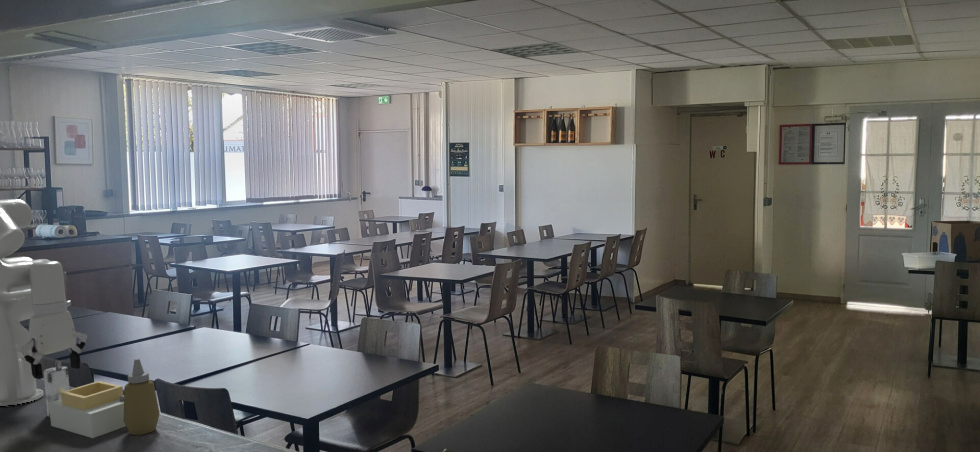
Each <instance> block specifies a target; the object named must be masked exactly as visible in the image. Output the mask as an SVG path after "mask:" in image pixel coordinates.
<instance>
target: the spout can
mask: <svg viewBox="0 0 980 452" xmlns="http://www.w3.org/2000/svg"><path fill="white" fill-rule="evenodd" d="M54 365H55V367H50V368H46V369H45V370H42V374H43V383H44V392H45V393H44V394H45V402H46V414H47V418H50V408H49V403H50V402H53V401H56V400H60V399H61V392H64V391H67V390H70V381H69V379H70V378H69V370H68V366H62V360H56V361H54Z"/></svg>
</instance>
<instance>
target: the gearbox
mask: <svg viewBox="0 0 980 452" xmlns="http://www.w3.org/2000/svg"><path fill="white" fill-rule="evenodd" d="M123 388H124V387H123V385H118V384H113V383H111V382H106V381H101V380H99V381H95V382H90V383H87V384H84V385H81V386H77V387H74V388H71V389H70V388H69V389H70V390H67V391H64V392H61V399H60V400H56V401H53V402H50V403H49V408H50V417H49V418H50V426H51V427H54V428H58V429H61V430H65V431H67V432H70V433H74V434H77V435H81V436H84V437H88V438H91V439H94V438H97V437H99V436H103V435H106V434H108V433H111V432H115V431H116V430H119V429H122V428H126V425H125V423H124V389H123Z"/></svg>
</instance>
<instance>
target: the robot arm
mask: <svg viewBox="0 0 980 452" xmlns="http://www.w3.org/2000/svg"><path fill="white" fill-rule="evenodd" d="M32 221H33V211H32V209H31V207H30V205H29V204H28V203H27V202H26V201H25V200H23V199H19V198H8V199H0V406H6V405H15V406H18V405H17V404H20V405H23V404H22V403H25V404H27V403H26V402H29V403H31V401H32V402H34V400H35V401H37V400H39V399H41V398H42V397H43V396H44V390H43V389H41V388H37V380H42V379H44V373H43V367H42V363H40V361H41V360H42V358H43V356H46V355H49V354H53V353H54V354H55V353H58V352H61V351H66V350H67V351H68V350H69V352H70V353H69V362H70V368H72V369H76V370H78V369H81V355H80V354H81V353H82V350H83V348H84V347H86V346H85V345H86V342H87V339H88V337H89V336H88V334H87V333H84V332H79V331H76V328H75V324H74V321H73V317H72V314H71V311H69V310H68V307H70V306H71V305H72V302H71V300H67V298H66V290H65V289H66V288H65V280H64V270H63V265H62V263H61V262H59V261H57V260H49V259H47V258H39V259H33V258H31V257H29V256H16V257H15V256H13V257H8V256H11V255H12V254H13V253H15V252H16V251H18V250H19V249H20V248H21V247H22V246H23V244H24V243H25V240H26V236H25V233H24V232H23V230H22V229H25V228H27V227H29V226H30V225H31V223H32ZM26 320H29V324H28V329H27V328H25V327H24V326H23V325H22V323H21V322H23V321H26ZM77 338H79V339H78V342H77ZM6 407H7V406H6Z"/></svg>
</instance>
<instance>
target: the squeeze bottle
mask: <svg viewBox="0 0 980 452" xmlns="http://www.w3.org/2000/svg"><path fill="white" fill-rule="evenodd" d="M127 382H128V383H127V384H125V385H124V387H123V388H124V389H123V395H124V423H125V425H126V426H125V428H127V431H128V432H129V434H131V435H133V436H139V435H140V436H141V435H145V434H149V433H152V432H154V431H155V430H156V429H157V425H158V421H159V419H160V414H161V412H160V409H159V403H158V399H157V393H156V388H155V382H154V381H152V380H151V379H150V374H149V372H148V371H144V368H143V365H142V362H141V360H140V358H136V359H134V360H133V367H132V373H129V374H127Z"/></svg>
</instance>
